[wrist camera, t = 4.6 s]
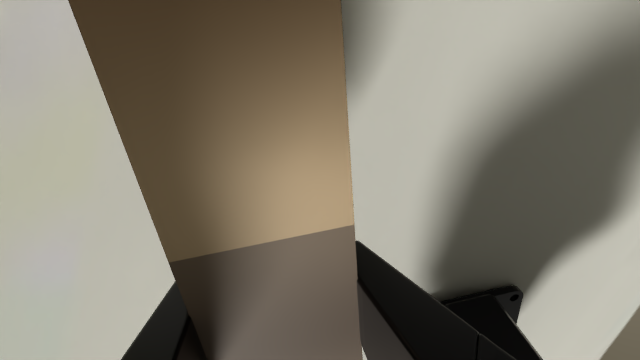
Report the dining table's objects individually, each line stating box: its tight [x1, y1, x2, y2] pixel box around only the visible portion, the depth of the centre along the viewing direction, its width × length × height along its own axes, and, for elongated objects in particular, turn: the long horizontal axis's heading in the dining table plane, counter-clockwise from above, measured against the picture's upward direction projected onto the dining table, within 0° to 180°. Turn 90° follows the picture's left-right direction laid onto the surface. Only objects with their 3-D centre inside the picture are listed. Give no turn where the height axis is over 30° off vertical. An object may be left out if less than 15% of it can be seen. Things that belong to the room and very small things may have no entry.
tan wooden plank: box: [68, 0, 363, 360], centre depth 7 cm, size 14×3×3 cm, turn 5°
